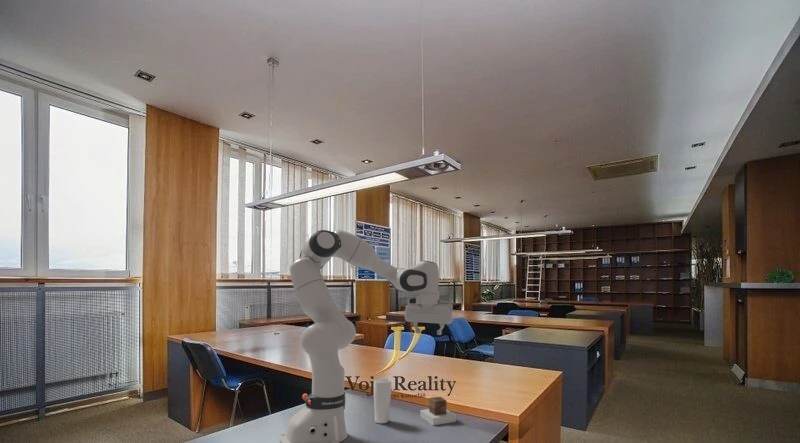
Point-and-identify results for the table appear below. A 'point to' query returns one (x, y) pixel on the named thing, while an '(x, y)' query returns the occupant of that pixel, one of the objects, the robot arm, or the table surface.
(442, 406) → the walnut cube
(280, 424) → the table surface
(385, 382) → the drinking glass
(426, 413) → the grey tile
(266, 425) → the table surface
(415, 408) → the table surface
